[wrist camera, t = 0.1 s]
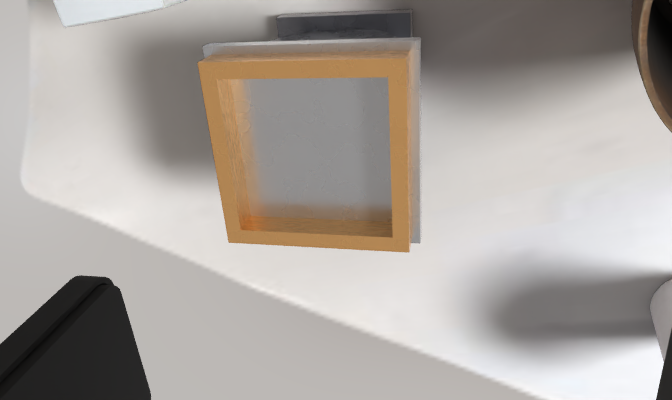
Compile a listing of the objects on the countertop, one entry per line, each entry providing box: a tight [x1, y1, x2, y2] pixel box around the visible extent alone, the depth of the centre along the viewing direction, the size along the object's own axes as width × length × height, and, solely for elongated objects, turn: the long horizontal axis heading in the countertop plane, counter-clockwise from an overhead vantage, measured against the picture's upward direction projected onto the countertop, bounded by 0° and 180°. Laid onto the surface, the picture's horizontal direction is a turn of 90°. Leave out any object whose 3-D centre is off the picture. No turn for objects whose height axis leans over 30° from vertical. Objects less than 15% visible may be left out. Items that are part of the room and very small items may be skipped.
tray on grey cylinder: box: [197, 9, 421, 252], centre depth 41 cm, size 14×13×14 cm
